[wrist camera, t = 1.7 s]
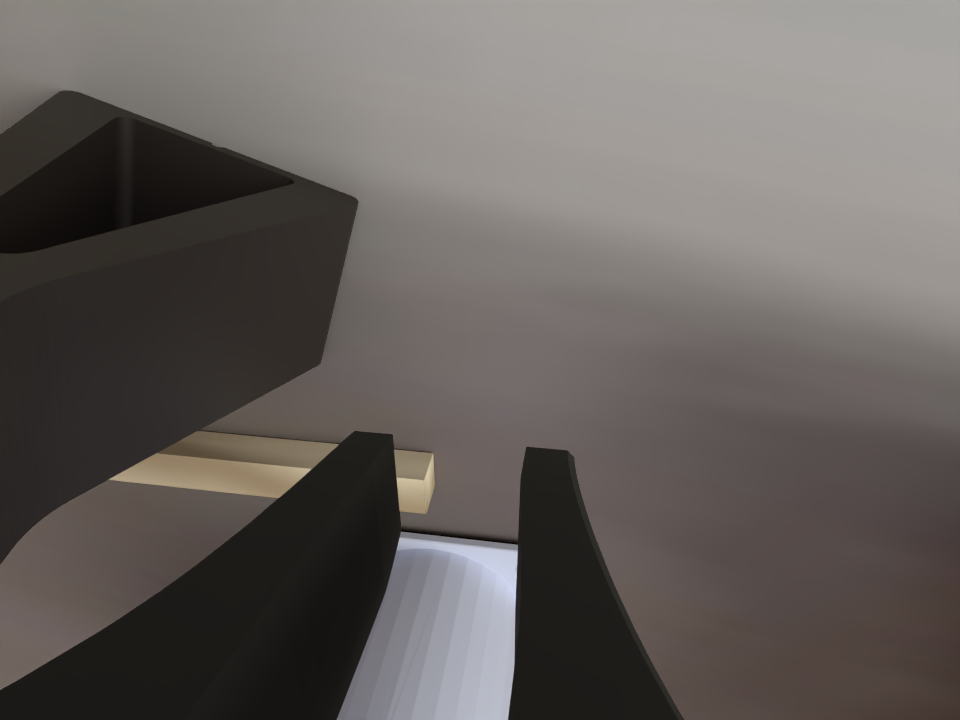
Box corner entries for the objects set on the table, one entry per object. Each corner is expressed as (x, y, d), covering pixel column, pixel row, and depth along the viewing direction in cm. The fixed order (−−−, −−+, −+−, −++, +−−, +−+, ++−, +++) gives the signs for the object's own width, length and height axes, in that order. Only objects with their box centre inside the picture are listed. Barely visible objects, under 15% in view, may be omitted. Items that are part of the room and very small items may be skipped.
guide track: (434, 485, 24) (409, 568, 20) (-69, 434, 27) (-166, 499, 23) (402, -158, 14) (342, -206, 11) (-390, -133, 17) (-636, -163, 13)
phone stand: (74, 265, 21) (-400, 520, 11) (70, 87, 18) (-595, 212, 8) (324, 359, 22) (89, 687, 11) (362, 200, 19) (88, 457, 8)
